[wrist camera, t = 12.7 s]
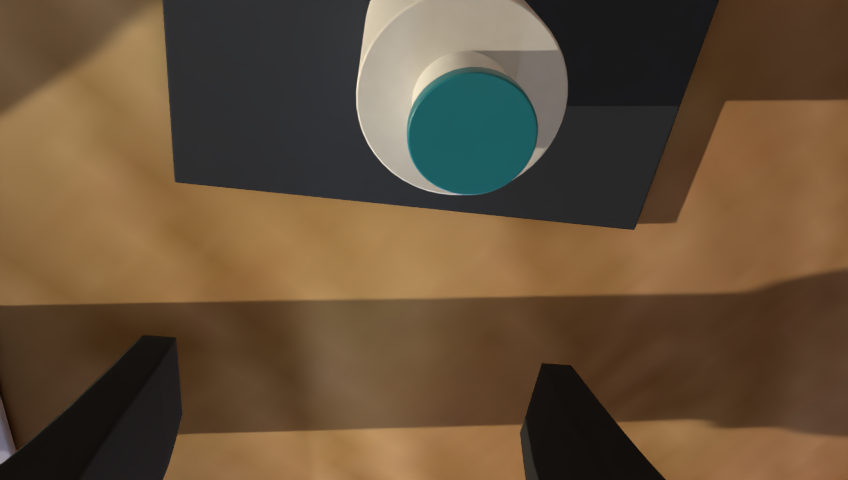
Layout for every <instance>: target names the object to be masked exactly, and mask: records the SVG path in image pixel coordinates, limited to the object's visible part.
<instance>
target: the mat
mask: <svg viewBox="0 0 848 480" xmlns="http://www.w3.org/2000/svg"><path fill="white" fill-rule="evenodd" d="M370 1H371V0H163V14H164V29H165V43H166V58H167V73H168V88H169V103H170V117H171V132H172V147H173V162H174V177H175V182H179V183H188V184H198V185H207V186H217V187H227V188H236V189H246V190H255V191H265V192H275V193H284V194H294V195H304V196H313V197H323V198H332V199H342V200H352V201H361V202H371V203H381V204H390V205H400V206H409V207H419V208H429V209H438V210H448V211H458V212H467V213H477V214H486V215H496V216H506V217H515V218H525V219H535V220H544V221H554V222H563V223H573V224H583V225H592V226H602V227H612V228H621V229H631V230H634V229H635V227H636V224H637V221H638V218H639V216H640V213H641V210H642V208H643V205H644V202H645V199H646V197H647V194H648V191H649V189H650V186H651V183H652V180H653V178H654V175H655V172H656V169H657V167H658V164H659V161H660V159H661V156H662V153H663V150H664V148H665V145H666V142H667V140H668V137H669V134H670V131H671V129H672V126H673V123H674V121H675V118H676V115H677V112H678V110H679V107H680V104H681V101H682V99H683V96H684V93H685V91H686V88H687V85H688V82H689V80H690V77H691V74H692V72H693V69H694V66H695V63H696V61H697V58H698V55H699V52H700V50H701V47H702V44H703V42H704V39H705V36H706V33H707V31H708V28H709V25H710V23H711V20H712V17H713V14H714V12H715V9H716V6H717V4H718V1H719V0H525V2H526V3H527V4H528V5H529V6H530V7H531V8H532V10H533V11H534V12H535V13H536V14H537V15H538V16H539V18H540V19H541V20H542V21H543V22H544V23H545V25H546V26H547V27H548V28H549V30H550V31H551V32H552V34H553V36H554V37H555V39H556V41H557V42H558V45H559V47H560V50H561V52H562V54H563V57H564V61H565V65H566V69H567V78H568V97H567V103H566V109H565V113H564V116H563V120H562V123H561V125H560V127H559V130H558V132H557V134H556V136H555V138H554V139H553V141H552V143H551V144H550V146H549V147H548V149H547V150H546V151H545V152H544V154H543V155H542V156H541V157H540V158H539V159H538V160H537V162H536V163H535V164H534V165H533V166H531V167H530V168H529V169H528V170H526V171H525V172H524V173H523V174H521V175H520V176H518V177H517V178H515V179H513V180H512V181H511V182H509V183H508V184H506V185H505V186H503V187H501V188H499V189H497V190H494V191H491V192H488V193H484V194H478V195H448V194H440V193H435V192H431V191H426V190H424V189H421V188H418V187H416V186H413V185H411V184H409V183H408V182H406V181H404V180H402V179H401V178H399V177H398V176H396V175H395V174H394V173H392V172H391V171H390V170H389V169H388V168H387V167H386V166H384V165H383V164H382V162H381V161H380V160H379V159H378V158H377V156H376V155H375V154H374V152H373V151H372V149H371V148H370V146H369V145H368V143H367V141H366V139H365V136H364V134H363V132H362V129H361V126H360V122H359V119H358V113H357V107H356V88H357V79H358V71H359V64H360V57H361V50H362V42H363V35H364V28H365V21H366V14H367V10H368V6H369V3H370Z"/></svg>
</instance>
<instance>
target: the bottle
mask: <svg viewBox="0 0 848 480" xmlns="http://www.w3.org/2000/svg"><path fill="white" fill-rule="evenodd" d="M567 97H568V78H567V69H566V65H565V61H564V57H563V54H562V52H561V50H560V47H559V45H558V42H557V41H556V39H555V37H554V36H553V34H552V32H551V31H550V30H549V28H548V27H547V26H546V25H545V23H544V22H543V21H542V20H541V19H540V18H539V16H538V15H537V14H536V13H535V12H534V11H533V10H532V8H531V7H530V6H529V5H528V4H527V3H526V2H525V0H371V1H370V3H369V6H368V10H367V14H366V21H365V28H364V35H363V42H362V50H361V57H360V64H359V71H358V79H357V88H356V107H357V113H358V119H359V122H360V126H361V129H362V132H363V134H364V136H365V139H366V141H367V143H368V145H369V146H370V148H371V149H372V151H373V152H374V154H375V155H376V156H377V158H378V159H379V160H380V161H381V162H382V164H383V165H384V166H386V167H387V168H388V169H389V170H390V171H391V172H392V173H394V174H395V175H396V176H398V177H399V178H401V179H402V180H404V181H406V182H408V183H409V184H411V185H413V186H416V187H418V188H421V189H424V190H426V191H431V192H435V193H440V194H448V195H478V194H484V193H488V192H491V191H494V190H497V189H499V188H501V187H503V186H505V185H506V184H508V183H509V182H511V181H512V180H513V179H515V178H517V177H518V176H520V175H521V174H523V173H524V172H525V171H526V170H528V169H529V168H530V167H531V166H533V165H534V164H535V163H536V162H537V160H538V159H539V158H540V157H541V156H542V155H543V154H544V152H545V151H546V150H547V149H548V147H549V146H550V144H551V143H552V141H553V139H554V138H555V136H556V134H557V132H558V130H559V127H560V125H561V123H562V120H563V116H564V113H565V109H566V103H567Z"/></svg>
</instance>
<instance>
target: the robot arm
mask: <svg viewBox="0 0 848 480" xmlns="http://www.w3.org/2000/svg"><path fill="white" fill-rule="evenodd" d="M182 414H183V413H182V402H181V390H180V378H179V366H178V354H177V342H176V338H175V337H161V336H147V335H143V336H141V337H140V338H139V339H137V340H136V341H135V342H134V343H133V344H132V345H131V346H130V347H129V348H128V349H127V350H126V351H125V352H124V353H123V354H122V355H121V356H120V358H119V359H118V360H117V361H116V362H115V363H114V364H113V365H112V366H111V367H109V368H108V369H107V370H106V371H105V372H104V373H103V374H102V375H101V376H100V377H99V378H98V379H97V380H96V381H95V382H94V383H93V384H92V385H91V386H90V387H89V388H88V389H87V390H86V391H85V392H84V393H82V394H81V395H80V396H79V397H78V398H77V399H76V400H75V401H74V402H73V403H72V404H71V405H70V406H68V407H67V408H66V409H65V410H64V411H63V412H62V413H61V414H60V415H59V416H58V417H56V418H55V419H54V420H53V421H52V422H51V423H50V424H48V425H47V426H46V427H45V428H44V429H43V430H41V431H40V432H39V433H38V434H37V435H35V436H34V437H33V438H32V439H31V440H29V441H28V442H27V443H26V444H25V445H24V446H22V447H21V448H20V449H19V450H18V451H16V449H15V445H14V442H13V438H12V435H11V431H10V428H9V424H8V421H7V417H6V413H5V410H4V406H3V403H2V399H1V396H0V480H163V478H164V475H165V473H166V470H167V467H168V465H169V462H170V458H171V455H172V451H173V448H174V444H175V441H176V437H177V433H178V429H179V425H180V421H181V418H182ZM520 436H521V444H522V453H523V462H524V469H525V476H526V480H665V478H664V477H663V476H662V475H661V474H660V473H659V472H658V471H657V470H656V469H655V468H654V467H653V466H652V464H651V463H650V462H649V461H648V460H647V459H646V458H645V456H644V455H643V454H642V453H641V452H640V451H639V450H638V448H637V447H636V446H635V445H634V444H633V443H632V441H631V440H630V439H629V438H628V437H627V435H626V434H625V433H624V432H623V431H622V429H621V428H620V427H619V426H618V424H617V423H616V422H615V421H614V420H613V418H612V417H611V416H610V415H609V413H608V412H607V411H606V409H605V408H604V407H603V406H602V404H601V403H600V402H599V401H598V399H597V398H596V397H595V395H594V394H593V393H592V392H591V390H590V389H589V388H588V387H587V385H586V384H585V383H584V381H583V380H582V379H581V378H580V376H579V375H578V374H577V372H576V371H575V370H574V369H573V367H572V366H571V365H559V364H544V363H542V365H541V368H540V371H539V374H538V377H537V381H536V384H535V387H534V390H533V394H532V397H531V400H530V403H529V406H528V410H527V413H526V416H525V419H524V422H523V426H522V429H521V432H520Z"/></svg>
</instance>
